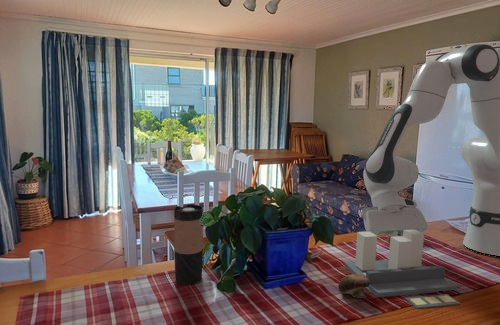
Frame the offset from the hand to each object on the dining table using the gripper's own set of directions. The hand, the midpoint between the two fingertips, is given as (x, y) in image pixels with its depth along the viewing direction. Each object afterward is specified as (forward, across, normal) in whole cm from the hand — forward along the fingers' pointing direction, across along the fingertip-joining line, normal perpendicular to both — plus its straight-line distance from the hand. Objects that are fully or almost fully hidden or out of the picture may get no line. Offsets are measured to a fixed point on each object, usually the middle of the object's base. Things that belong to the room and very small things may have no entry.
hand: (404, 245), depth 106 cm
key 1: (+6, -15, 0) cm, 16 cm away
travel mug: (+4, -66, +4) cm, 66 cm away
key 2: (+6, 0, 0) cm, 6 cm away
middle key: (+9, -8, -3) cm, 12 cm away
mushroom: (+15, -24, -6) cm, 29 cm away
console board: (+10, -8, -2) cm, 13 cm away
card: (+19, -6, -11) cm, 23 cm away
